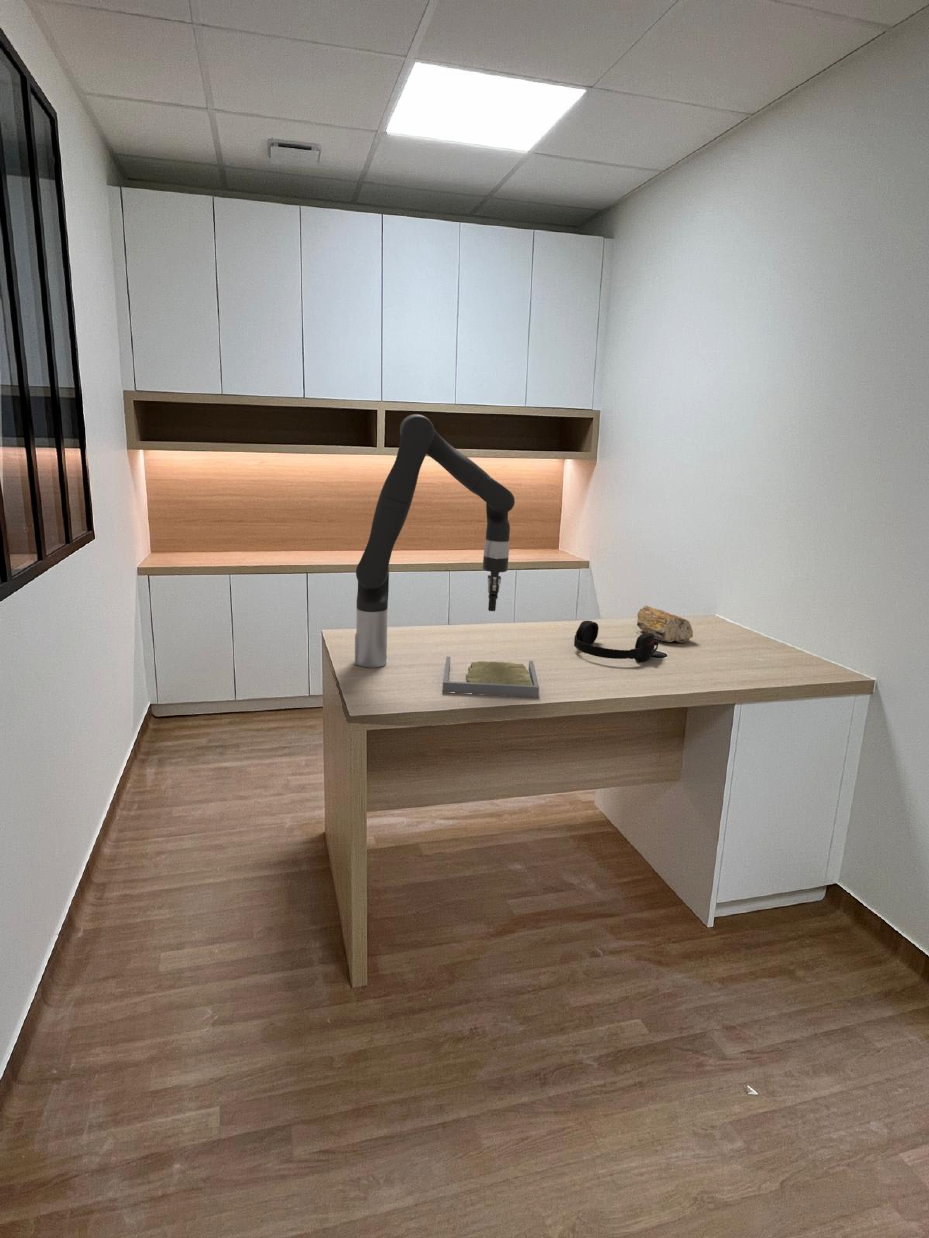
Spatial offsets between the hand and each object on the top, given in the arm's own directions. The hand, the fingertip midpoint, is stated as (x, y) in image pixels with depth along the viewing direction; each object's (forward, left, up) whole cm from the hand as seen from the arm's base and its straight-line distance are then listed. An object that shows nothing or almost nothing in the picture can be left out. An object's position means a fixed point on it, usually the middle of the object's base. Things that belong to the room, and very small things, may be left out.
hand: (491, 610), depth 227 cm
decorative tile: (+2, -17, -18) cm, 25 cm away
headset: (+43, +17, -17) cm, 49 cm away
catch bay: (0, -16, -17) cm, 23 cm away
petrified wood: (+64, +40, -17) cm, 77 cm away
